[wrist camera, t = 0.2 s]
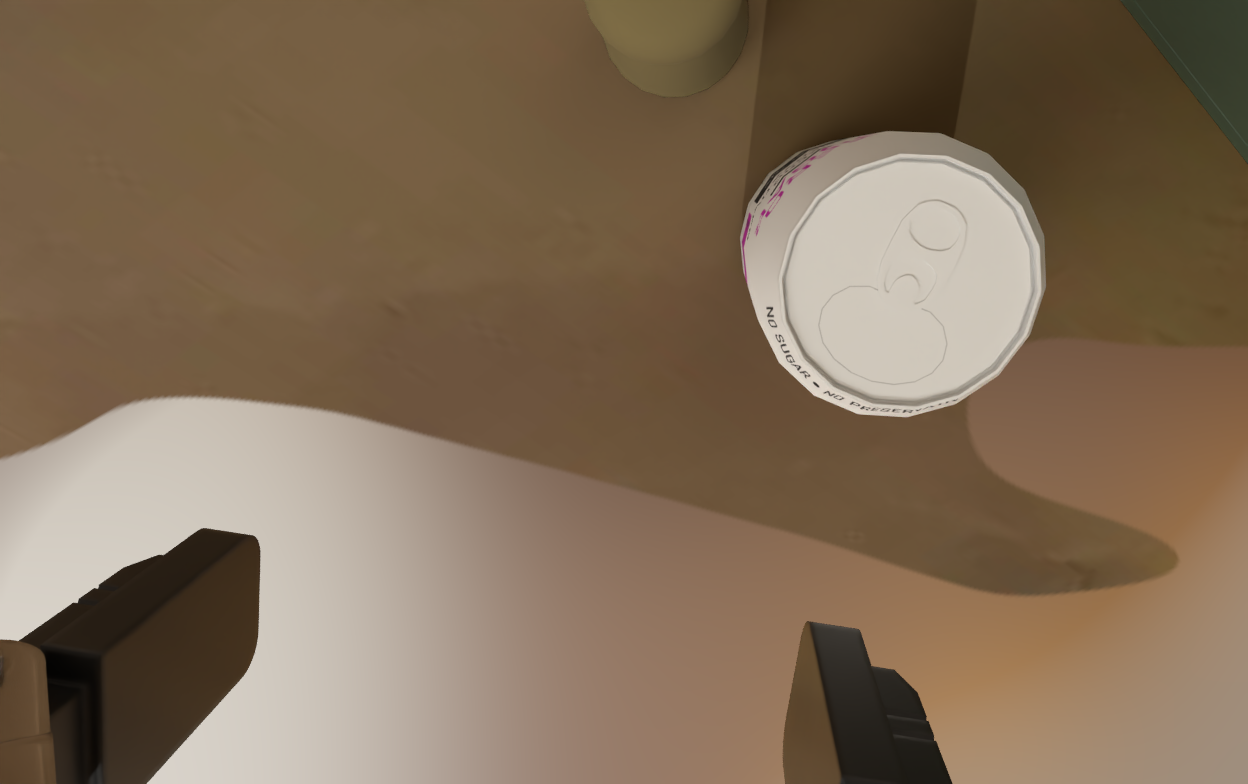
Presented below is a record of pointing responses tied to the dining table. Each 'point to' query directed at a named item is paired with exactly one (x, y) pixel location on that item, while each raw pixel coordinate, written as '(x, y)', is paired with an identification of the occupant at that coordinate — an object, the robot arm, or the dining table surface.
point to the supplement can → (893, 270)
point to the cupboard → (1205, 54)
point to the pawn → (671, 41)
